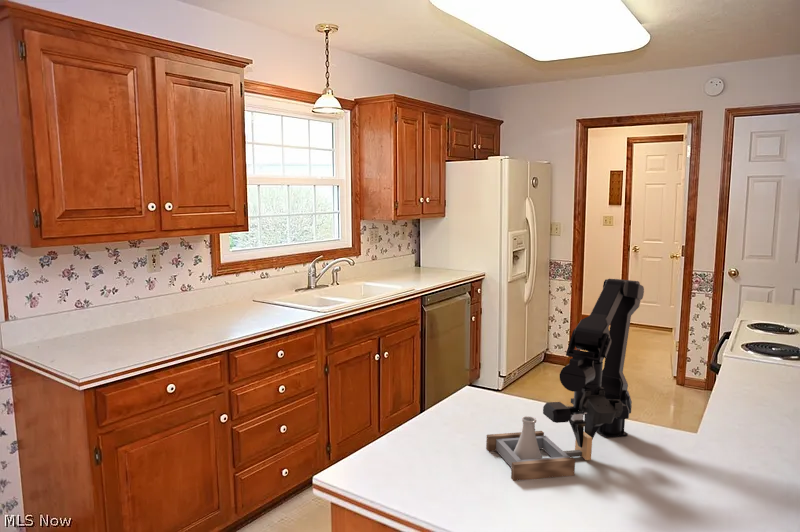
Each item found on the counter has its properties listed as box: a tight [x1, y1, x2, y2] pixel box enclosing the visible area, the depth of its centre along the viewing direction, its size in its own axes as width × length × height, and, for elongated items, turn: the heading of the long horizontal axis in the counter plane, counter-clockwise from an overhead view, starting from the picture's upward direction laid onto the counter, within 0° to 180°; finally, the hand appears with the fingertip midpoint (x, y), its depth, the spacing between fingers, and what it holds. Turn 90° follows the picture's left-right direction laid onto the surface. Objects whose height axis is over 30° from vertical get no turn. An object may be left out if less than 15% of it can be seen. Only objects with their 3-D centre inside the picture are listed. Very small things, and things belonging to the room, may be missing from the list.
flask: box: [513, 415, 543, 460], centre depth 130 cm, size 7×7×10 cm
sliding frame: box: [496, 432, 593, 469], centre depth 131 cm, size 19×12×5 cm, turn 103°
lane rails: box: [485, 430, 576, 482], centre depth 130 cm, size 14×16×4 cm
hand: (583, 446), depth 133 cm, fingers closed, pressing on sliding frame
